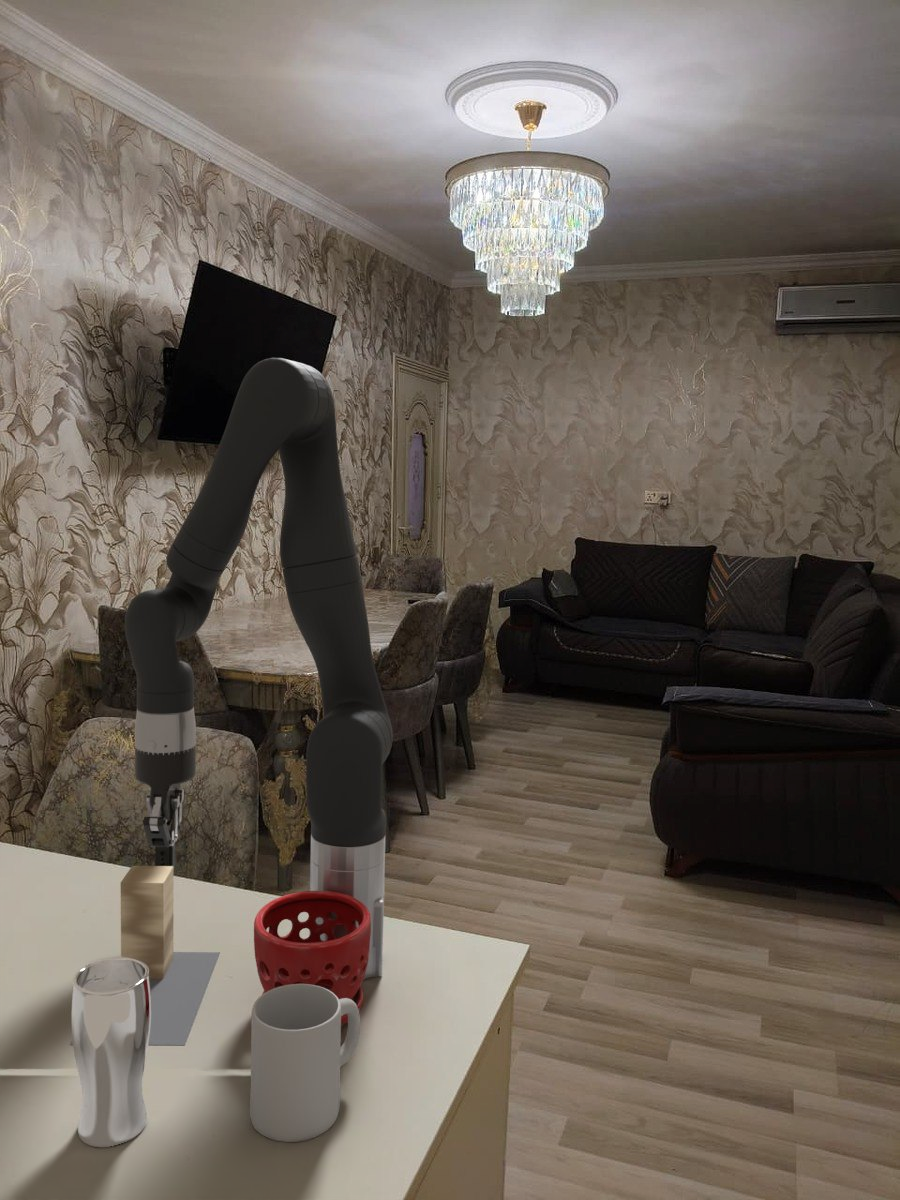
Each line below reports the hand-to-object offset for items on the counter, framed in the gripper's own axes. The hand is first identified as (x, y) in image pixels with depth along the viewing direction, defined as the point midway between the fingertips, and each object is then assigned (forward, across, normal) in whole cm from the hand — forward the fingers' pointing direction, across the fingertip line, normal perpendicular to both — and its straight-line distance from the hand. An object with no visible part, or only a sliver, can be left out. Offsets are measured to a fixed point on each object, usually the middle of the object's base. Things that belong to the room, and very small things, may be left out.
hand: (165, 871), depth 124 cm
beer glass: (+9, -37, -4) cm, 38 cm away
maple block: (+9, -9, 0) cm, 12 cm away
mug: (+9, -34, -22) cm, 42 cm away
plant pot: (+9, -18, -21) cm, 29 cm away
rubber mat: (+9, -15, -2) cm, 18 cm away
